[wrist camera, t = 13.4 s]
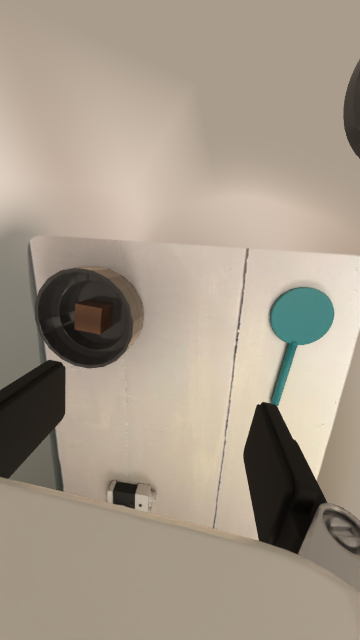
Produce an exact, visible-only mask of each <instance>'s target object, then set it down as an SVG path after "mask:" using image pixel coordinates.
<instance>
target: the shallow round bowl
mask: <svg viewBox="0 0 360 640" xmlns="http://www.w3.org/2000/svg"><path fill="white" fill-rule="evenodd" d="M88 299H93V300H98V301H103V302H109V303H113V311H112V324H111V327H110V328H109V329H107V330H106V331H104V332H103V333H102V334H95V333H90V332H85V331H80V330H75V329H74V326H75V303H78V302H81V301H84V300H88ZM143 317H144V312H143V307H142V303H141V299H140V297H139V295H138V293H137V292H136V290H135V288H134V287H133V285H132V284H131V283H130V282H128V281H127V280H126V279H125V278H124V277H123V276H122V275H120V274H118V273H116V272H114V271H112V270H110V269H106V268H99V267H83V268H73V269H67V270H62V271H60V272H58V273H56V274H55V275H53V276H51V277H50V278H48V279H47V281H46V282H45V283H44V285H43V286H42V287H41V289H40V290H39V293H38V296H37V299H36V303H35V320H36V323H37V326H38V329H39V332H40V335H41V337H42V338H43V340H44V341H45V343H46V344H47V346H48V347H49V348H50V349H51V350H52V351H53V352H54V353H55V354H56V355H57V356H59V357H60V358H61V359H63V360H65V361H67V362H69V363H71V364H73V365H75V366H80V367H85V368H97V367H104V366H106V365H108V364H111V363H113V362H115V361H116V360H117V359H118V358H119V357H120V356H121V355H122V354H123V353H124V352H126V350H127V349H128V348H129V347H130V346H131V345H132V344H133V343H134V341H135V340H136V339H137V338H138V335H139V333H140V331H141V329H142V326H143Z"/></svg>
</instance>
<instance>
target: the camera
mask: <svg viewBox="0 0 360 640" xmlns="http://www.w3.org/2000/svg"><path fill="white" fill-rule="evenodd" d="M156 494H157V493H155V492H152V491H151V485H147V484H141V483H138V486H134V485H128V484H122V483H117V480H113V481H112V483H111V485H110V487H109V490H108V492H107V498H108V503H111V504H115V505H120V506H124V507H128V508H132V509H136V510H140V511H144V512H148V513H151V504H152V502H155V499H156Z"/></svg>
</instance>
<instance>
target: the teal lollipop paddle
mask: <svg viewBox="0 0 360 640" xmlns="http://www.w3.org/2000/svg"><path fill="white" fill-rule="evenodd" d="M333 319H334V308H333V305H332V302H331V301H330V299H329V298H328V297H327V296H326V295H325V294H324V293H323V292H321V291H319V290H317V289H313V288H309V287H300V288H295V289H292V290H289V291H287V292H286V293H284V294H283V295H281V296H280V297H279V298H278V299H277V301H276V302H275V303H274V305H273V307H272V310H271V314H270V323H271V327H272V329H273V331H274V332H275V334H276V335H277V336H278V337H279V338H280V339H282V340H283V341H285V342H287V343H289V345H288V348H287V352H286V355H285V358H284V361H283V365H282V368H281V371H280V374H279V378H278V381H277V384H276V388H275V391H274V394H273V397H272V401H271V404H275V405H276V406H278V405H279V401H280V398H281V395H282V392H283V389H284V386H285V383H286V379H287V376H288V373H289V370H290V367H291V364H292V361H293V357H294V354H295V351H296V348H297V345H304V344H309V343H312V342H314V341H317V340H318V339H320V338H321V337H322V336H324V335H325V334H326V333H327V331H328V330H329V328H330V327H331V325H332V322H333Z"/></svg>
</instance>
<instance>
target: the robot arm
mask: <svg viewBox="0 0 360 640" xmlns="http://www.w3.org/2000/svg"><path fill="white" fill-rule="evenodd" d="M64 415H65V366H63V364H62V363H61V362H58V361H53V360H48V361H46V362H45V363H43V364H41V365H40V366H38V367H37V368H35V369H33V370H32V371H30V372H29V373H27V374H25V375H24V376H22V377H21V378H19V379H17V380H16V381H14V382H13V383H11V384H9V385H8V386H6V387H5V388H3V389H1V390H0V640H360V521H359V520H358V519H357V518H356V517H355V516H354V515H352V514H351V513H350V512H348V511H347V510H345V509H344V508H342V507H340V506H338V505H335V504H331V503H327V501H326V499H325V497H324V495H323V493H322V491H321V489H320V487H319V485H318V483H317V481H316V479H315V477H314V475H313V473H312V471H311V469H310V467H309V465H308V463H307V461H306V459H305V457H304V455H303V453H302V451H301V449H300V447H299V445H298V443H297V442H296V441H295V440H294V439H293V438H292V436H291V434H290V432H289V430H288V428H287V426H286V424H285V422H284V420H283V418H282V416H281V414H280V412H279V410H278V407H277V406H276V405H275V404H271V403H266V402H262V403H261V405H259V404H258V405H257V407H256V410H255V413H254V417H253V420H252V424H251V427H250V431H249V434H248V438H247V441H246V445H245V448H244V454H243V457H244V464H245V469H246V474H247V480H248V485H249V490H250V495H251V501H252V506H253V511H254V517H255V522H256V527H257V532H258V538H259V541H257V540H254V539H250V538H246V537H242V536H239V535H235V534H231V533H228V532H224V531H220V530H216V529H213V528H209V527H205V526H201V525H197V524H193V523H189V522H185V521H180V520H176V519H172V518H168V517H164V516H160V515H156V514H152V513H148V512H144V511H140V510H136V509H132V508H128V507H124V506H120V505H115V504H111V503H107V502H103V501H99V500H95V499H91V498H86V497H82V496H78V495H74V494H70V493H66V492H62V491H57V490H53V489H49V488H44V487H40V486H36V485H32V484H27V483H23V482H19V481H14V480H10V479H8V478H9V477H10V476H11V475H12V474H13V473H14V472H15V470H17V468H18V467H19V466H20V465H21V464H22V463H23V462H24V461H25V460H26V459H27V457H28V456H29V455H30V454H31V453H32V452H33V451H34V450H35V449H36V448H37V447H38V445H39V444H40V443H41V442H42V441H43V440H44V439H45V438H46V437H47V436H48V434H49V433H50V432H51V431H52V430H53V429H54V428H55V427H56V426H57V425H58V423H59V422H60V421H61V420H62V419H63V417H64Z"/></svg>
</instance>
